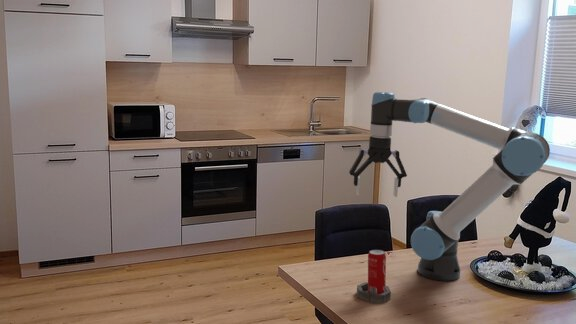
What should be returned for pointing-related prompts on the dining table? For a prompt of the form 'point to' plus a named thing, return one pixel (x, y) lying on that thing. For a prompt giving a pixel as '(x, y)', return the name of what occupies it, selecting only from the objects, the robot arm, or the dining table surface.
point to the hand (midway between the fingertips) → (376, 195)
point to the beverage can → (376, 272)
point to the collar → (376, 298)
